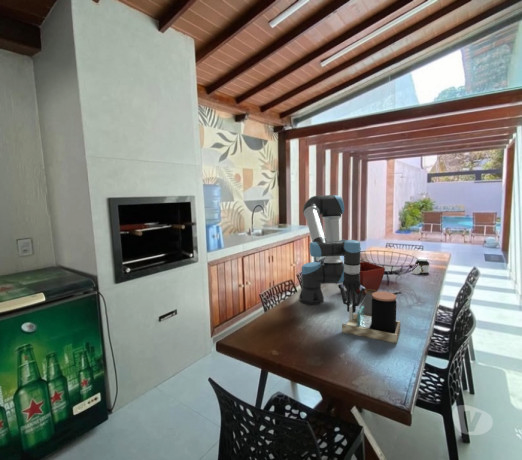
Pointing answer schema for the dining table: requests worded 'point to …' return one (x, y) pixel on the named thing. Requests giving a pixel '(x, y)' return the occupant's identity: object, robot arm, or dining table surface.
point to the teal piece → (363, 319)
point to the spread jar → (421, 266)
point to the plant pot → (370, 276)
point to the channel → (370, 331)
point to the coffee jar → (384, 312)
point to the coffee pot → (370, 302)
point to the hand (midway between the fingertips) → (351, 318)
